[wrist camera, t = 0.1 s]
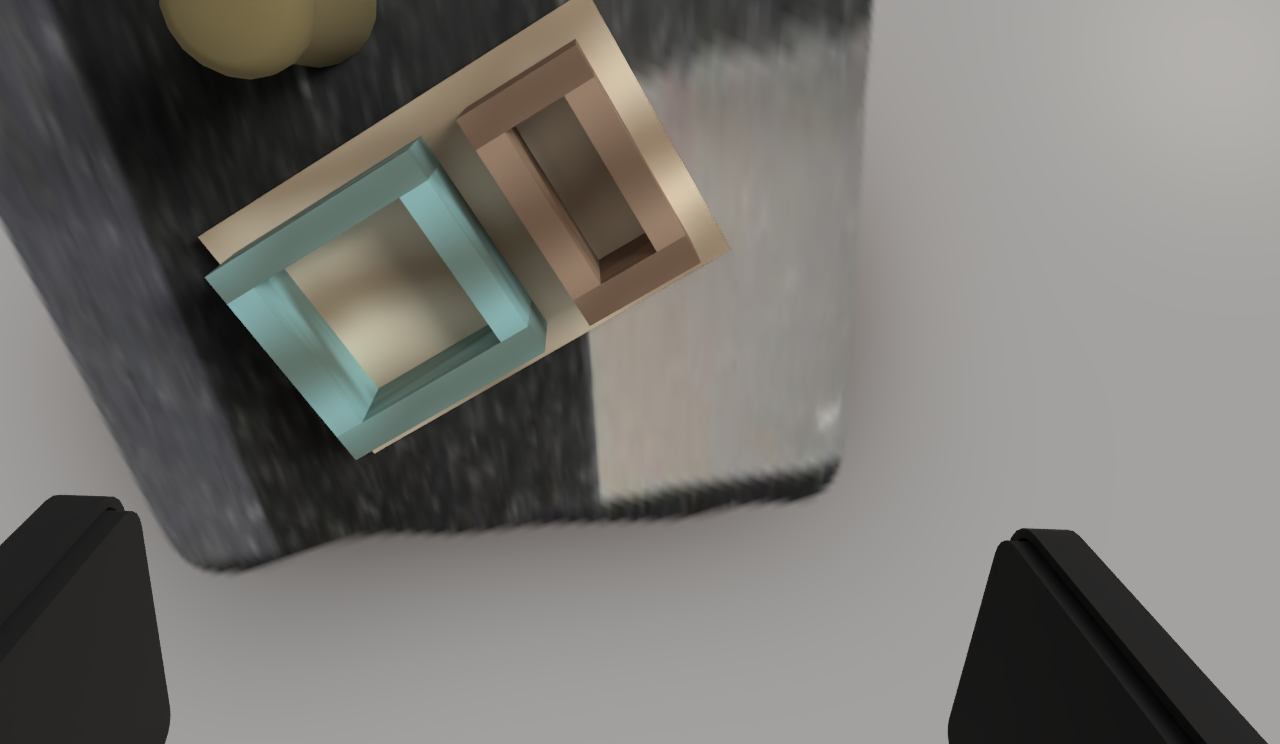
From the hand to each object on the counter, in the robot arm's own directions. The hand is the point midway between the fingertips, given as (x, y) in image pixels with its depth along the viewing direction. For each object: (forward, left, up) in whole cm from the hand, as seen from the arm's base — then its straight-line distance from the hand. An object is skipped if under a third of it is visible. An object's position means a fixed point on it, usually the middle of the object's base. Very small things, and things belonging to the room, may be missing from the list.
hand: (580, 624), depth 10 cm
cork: (-11, -7, -37) cm, 40 cm away
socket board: (+2, -7, -37) cm, 38 cm away
